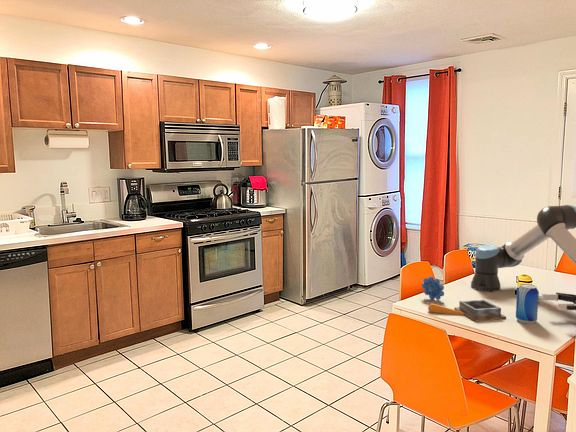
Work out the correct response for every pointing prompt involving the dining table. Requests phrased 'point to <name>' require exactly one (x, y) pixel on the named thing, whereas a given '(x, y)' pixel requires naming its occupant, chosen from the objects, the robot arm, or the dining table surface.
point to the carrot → (443, 310)
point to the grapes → (433, 288)
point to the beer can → (527, 303)
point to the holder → (480, 310)
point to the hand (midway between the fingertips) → (549, 301)
